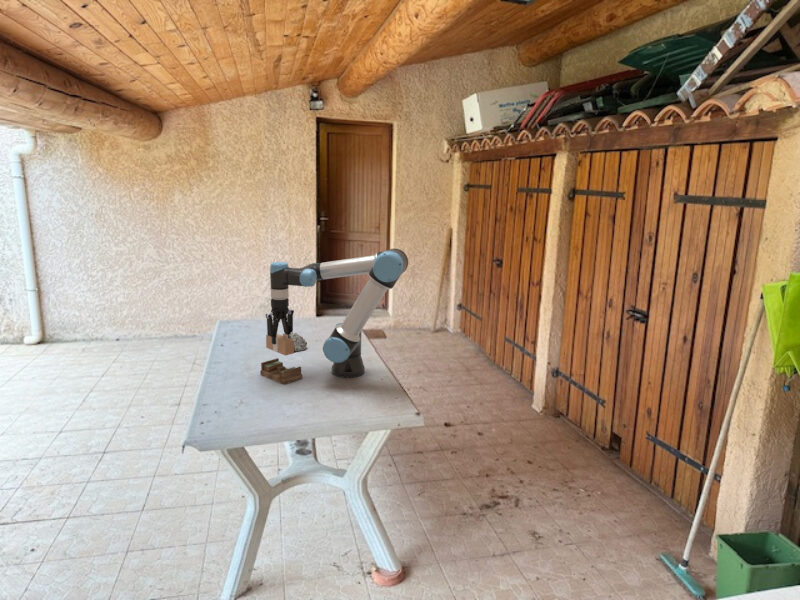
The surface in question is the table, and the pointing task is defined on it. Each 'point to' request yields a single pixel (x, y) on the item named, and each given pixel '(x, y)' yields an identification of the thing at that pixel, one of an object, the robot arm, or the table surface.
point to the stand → (280, 372)
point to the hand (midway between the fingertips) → (280, 349)
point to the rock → (298, 342)
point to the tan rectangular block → (281, 344)
